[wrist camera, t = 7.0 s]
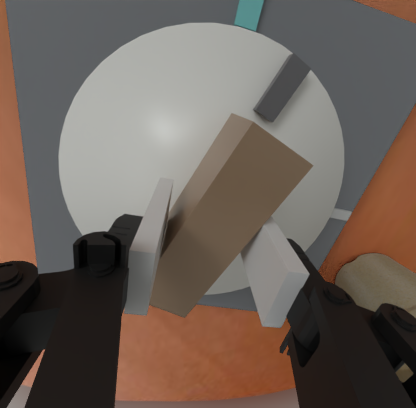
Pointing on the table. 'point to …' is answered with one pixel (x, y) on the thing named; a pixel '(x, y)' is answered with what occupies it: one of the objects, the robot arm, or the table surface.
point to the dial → (203, 150)
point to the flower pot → (380, 287)
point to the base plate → (208, 13)
